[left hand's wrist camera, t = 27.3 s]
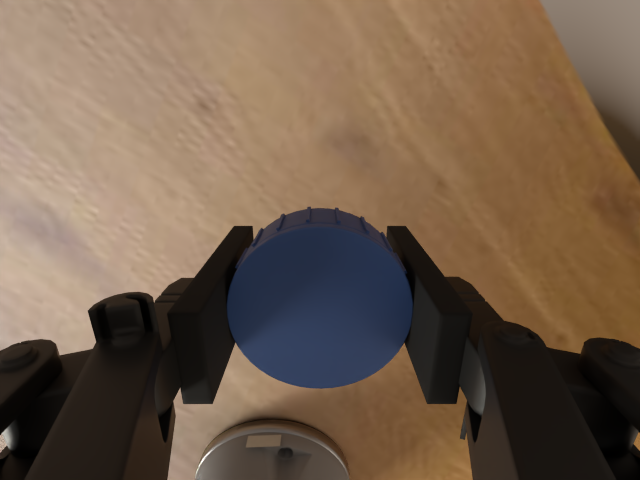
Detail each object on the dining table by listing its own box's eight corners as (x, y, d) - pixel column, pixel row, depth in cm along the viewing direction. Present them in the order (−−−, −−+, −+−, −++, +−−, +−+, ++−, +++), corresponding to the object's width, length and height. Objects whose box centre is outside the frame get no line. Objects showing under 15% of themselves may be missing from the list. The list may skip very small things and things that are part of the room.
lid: (215, 231, 11) (193, 255, 9) (380, 185, 11) (394, 200, 9) (270, 363, 13) (261, 406, 11) (413, 330, 13) (430, 368, 11)
